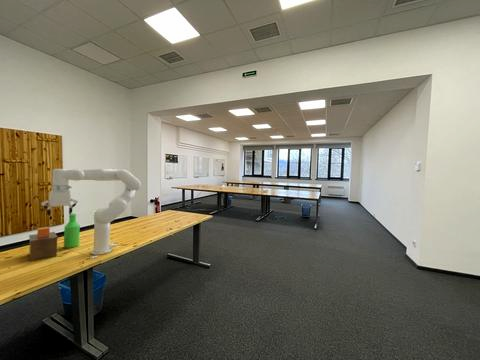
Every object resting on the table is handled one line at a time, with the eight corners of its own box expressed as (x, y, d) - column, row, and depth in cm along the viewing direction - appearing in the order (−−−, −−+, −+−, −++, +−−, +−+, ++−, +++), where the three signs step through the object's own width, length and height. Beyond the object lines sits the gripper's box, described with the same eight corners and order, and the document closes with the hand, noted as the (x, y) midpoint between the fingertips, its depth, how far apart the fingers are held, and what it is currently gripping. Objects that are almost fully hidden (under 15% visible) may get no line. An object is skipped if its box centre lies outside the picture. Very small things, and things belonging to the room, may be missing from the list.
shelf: (54, 249, 142) (54, 231, 142) (57, 256, 131) (57, 236, 131) (28, 254, 132) (29, 235, 132) (29, 261, 122) (30, 240, 122)
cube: (48, 234, 135) (48, 226, 135) (49, 236, 132) (49, 228, 132) (37, 235, 131) (37, 227, 131) (37, 237, 128) (38, 229, 128)
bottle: (66, 245, 151) (67, 213, 151) (80, 244, 155) (81, 212, 155) (62, 249, 143) (63, 215, 143) (77, 247, 147) (78, 214, 147)
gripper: (77, 187, 133) (76, 212, 133) (41, 188, 120) (40, 215, 121) (78, 188, 128) (78, 214, 128) (41, 188, 115) (40, 217, 116)
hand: (60, 214), depth 124 cm, fingers open, 9 cm apart
